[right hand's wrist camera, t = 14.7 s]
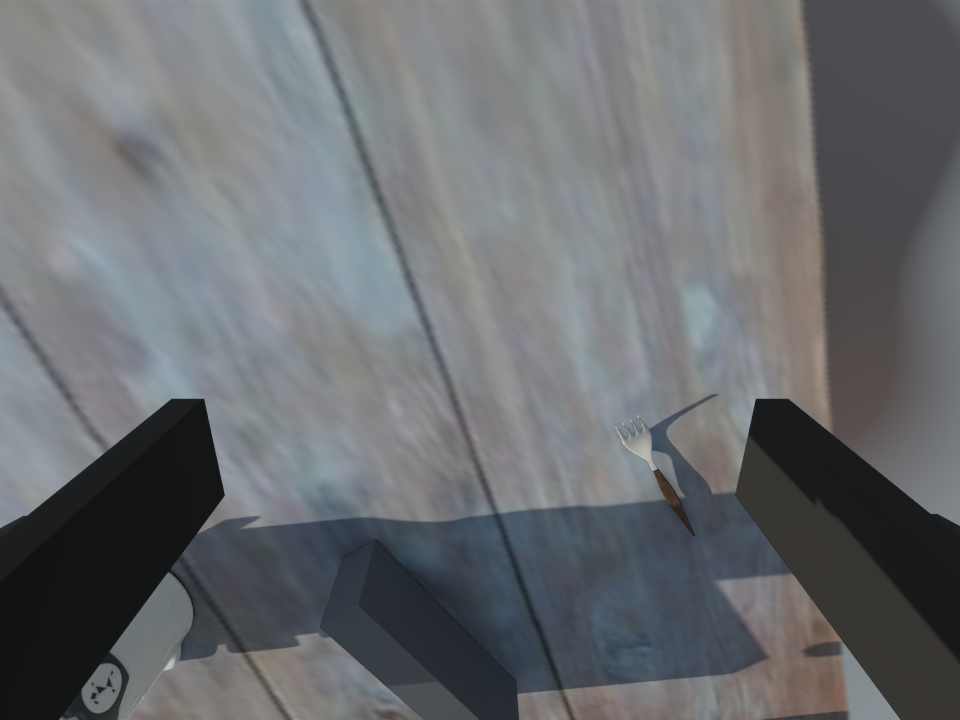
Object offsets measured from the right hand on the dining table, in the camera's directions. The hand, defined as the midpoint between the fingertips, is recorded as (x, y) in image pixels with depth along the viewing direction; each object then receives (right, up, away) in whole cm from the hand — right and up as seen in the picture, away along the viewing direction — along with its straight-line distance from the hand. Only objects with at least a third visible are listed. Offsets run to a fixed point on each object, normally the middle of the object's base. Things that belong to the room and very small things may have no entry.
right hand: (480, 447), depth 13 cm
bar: (-5, -27, +44) cm, 52 cm away
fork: (+17, -9, +37) cm, 42 cm away
